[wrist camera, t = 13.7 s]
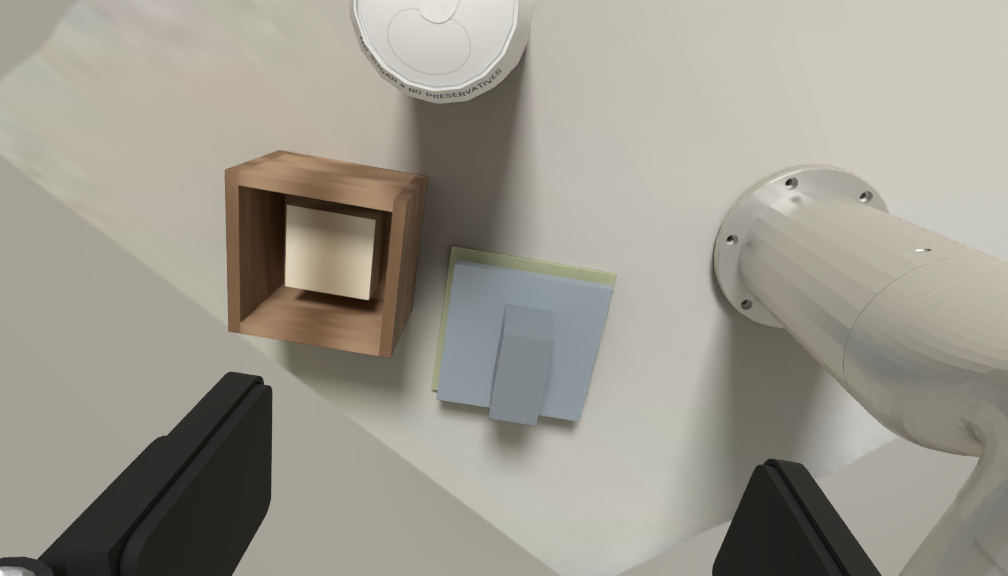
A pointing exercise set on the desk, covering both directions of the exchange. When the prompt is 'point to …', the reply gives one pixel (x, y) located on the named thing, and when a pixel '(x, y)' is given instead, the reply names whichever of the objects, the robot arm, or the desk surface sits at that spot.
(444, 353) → the lid
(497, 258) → the felt mat
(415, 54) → the supplement can
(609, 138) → the desk surface
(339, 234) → the walnut box
